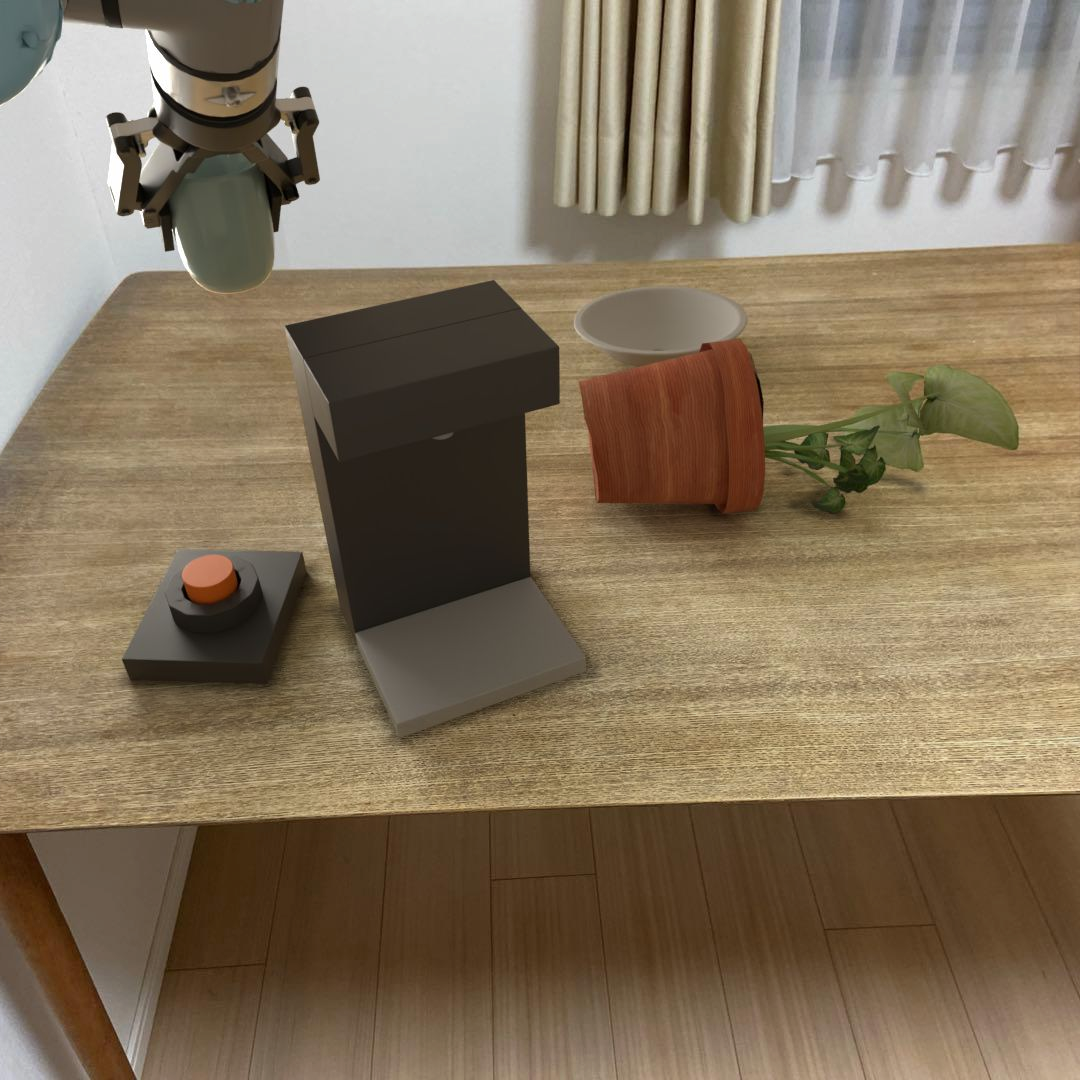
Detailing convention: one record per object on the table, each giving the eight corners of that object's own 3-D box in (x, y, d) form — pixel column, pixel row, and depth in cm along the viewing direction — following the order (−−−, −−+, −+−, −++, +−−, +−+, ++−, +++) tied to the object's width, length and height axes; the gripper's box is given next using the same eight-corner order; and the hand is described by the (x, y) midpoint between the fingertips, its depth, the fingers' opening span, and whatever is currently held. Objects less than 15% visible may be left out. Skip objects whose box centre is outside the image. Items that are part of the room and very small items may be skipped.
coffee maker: (586, 671, 72) (591, 377, 57) (399, 739, 68) (349, 440, 53) (508, 556, 82) (494, 279, 67) (340, 609, 78) (283, 325, 62)
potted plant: (601, 577, 83) (1034, 527, 82) (586, 413, 74) (1073, 355, 73) (584, 473, 95) (960, 429, 94) (570, 322, 86) (985, 272, 85)
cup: (277, 257, 88) (255, 139, 81) (289, 296, 82) (266, 171, 76) (183, 270, 86) (154, 150, 79) (189, 311, 80) (158, 184, 74)
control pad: (129, 680, 72) (113, 641, 70) (184, 569, 82) (171, 531, 79) (267, 684, 72) (256, 645, 69) (307, 572, 81) (298, 533, 79)
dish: (716, 320, 112) (720, 278, 109) (763, 387, 101) (769, 342, 98) (560, 338, 110) (560, 295, 107) (591, 408, 99) (592, 362, 96)
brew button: (180, 604, 73) (174, 586, 72) (196, 571, 76) (190, 553, 75) (229, 605, 73) (224, 587, 72) (243, 572, 76) (239, 554, 75)
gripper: (53, 148, 59) (100, 293, 81) (393, 99, 66) (352, 246, 87) (17, 28, 59) (73, 204, 81) (359, -9, 66) (326, 164, 87)
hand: (218, 226), depth 84 cm, fingers closed on cup, 8 cm apart
